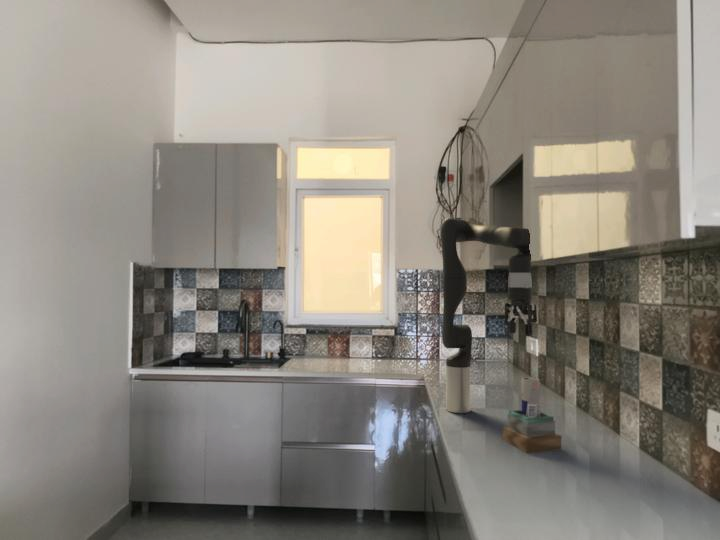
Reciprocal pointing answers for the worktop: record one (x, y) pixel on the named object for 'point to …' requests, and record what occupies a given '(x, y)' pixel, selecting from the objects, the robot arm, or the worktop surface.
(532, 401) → the energy drink
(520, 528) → the worktop surface
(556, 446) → the square stepped box
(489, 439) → the worktop surface
